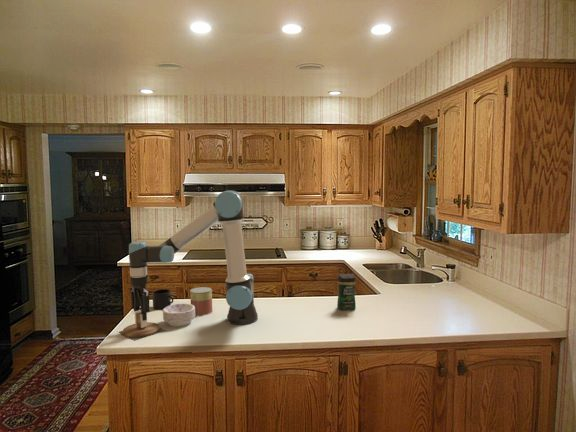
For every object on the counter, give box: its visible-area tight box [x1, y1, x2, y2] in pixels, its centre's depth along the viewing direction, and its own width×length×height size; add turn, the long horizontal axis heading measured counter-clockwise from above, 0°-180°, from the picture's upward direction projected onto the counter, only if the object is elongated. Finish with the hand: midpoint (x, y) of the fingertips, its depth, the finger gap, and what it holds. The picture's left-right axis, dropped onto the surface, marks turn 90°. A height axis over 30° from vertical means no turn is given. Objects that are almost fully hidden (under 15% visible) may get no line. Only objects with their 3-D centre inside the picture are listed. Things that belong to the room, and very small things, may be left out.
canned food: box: [189, 286, 213, 316], centre depth 220 cm, size 11×11×12 cm
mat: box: [118, 327, 167, 342], centre depth 192 cm, size 16×16×1 cm
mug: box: [151, 288, 174, 311], centre depth 229 cm, size 9×12×9 cm
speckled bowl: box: [162, 303, 196, 327], centre depth 203 cm, size 15×15×8 cm
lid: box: [122, 312, 161, 339], centre depth 192 cm, size 16×16×8 cm
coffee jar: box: [336, 273, 357, 311], centre depth 222 cm, size 10×8×19 cm
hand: (141, 325), depth 192 cm, fingers closed on lid, 4 cm apart
